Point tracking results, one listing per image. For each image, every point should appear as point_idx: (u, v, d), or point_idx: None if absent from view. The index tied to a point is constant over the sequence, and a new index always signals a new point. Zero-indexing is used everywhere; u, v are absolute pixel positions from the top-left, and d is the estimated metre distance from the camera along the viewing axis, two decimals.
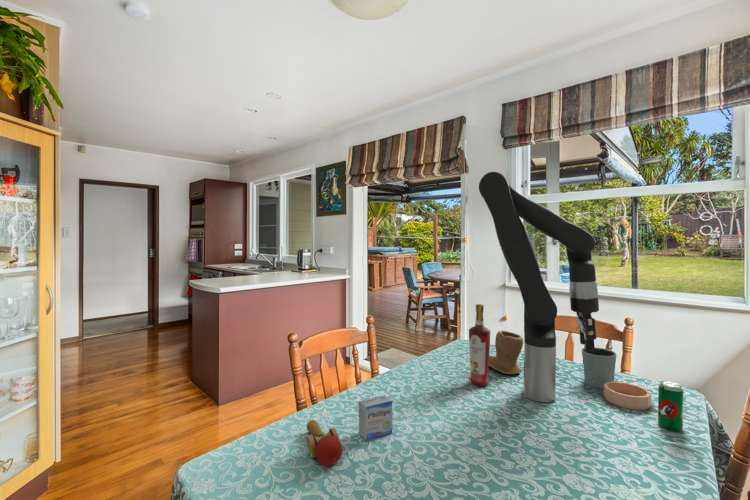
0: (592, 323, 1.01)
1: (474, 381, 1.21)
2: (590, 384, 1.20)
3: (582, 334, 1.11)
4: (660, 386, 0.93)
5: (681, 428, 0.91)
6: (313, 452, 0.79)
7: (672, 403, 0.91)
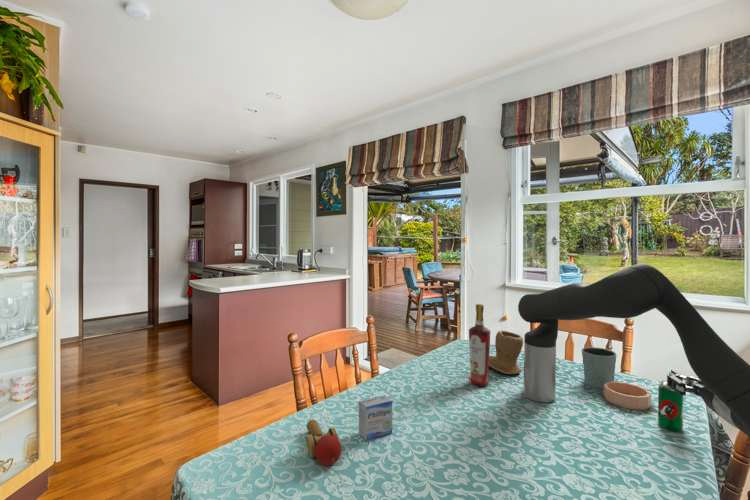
0: (676, 389, 0.75)
1: (474, 381, 1.21)
2: (590, 384, 1.20)
3: None
4: (660, 386, 0.93)
5: (681, 428, 0.91)
6: (312, 451, 0.79)
7: (672, 403, 0.91)
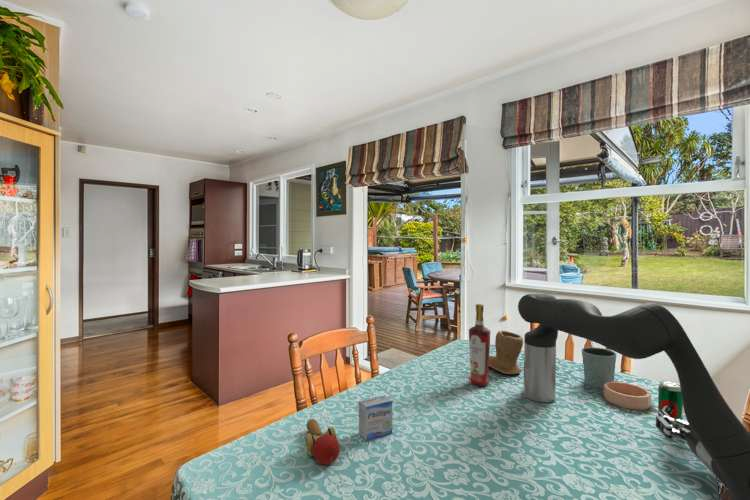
0: (664, 432, 0.80)
1: (474, 381, 1.21)
2: (590, 384, 1.20)
3: None
4: (660, 386, 0.93)
5: None
6: (311, 451, 0.80)
7: (672, 403, 0.91)
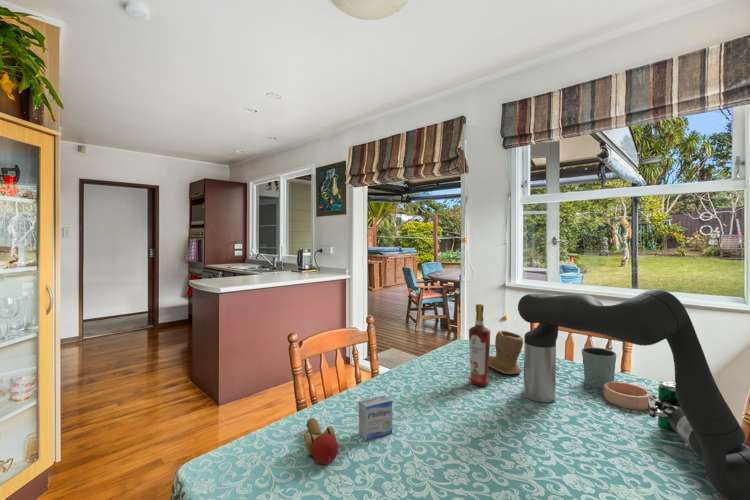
0: (649, 412, 0.89)
1: (474, 381, 1.21)
2: (590, 384, 1.20)
3: None
4: (660, 386, 0.93)
5: None
6: (309, 450, 0.80)
7: (672, 403, 0.91)
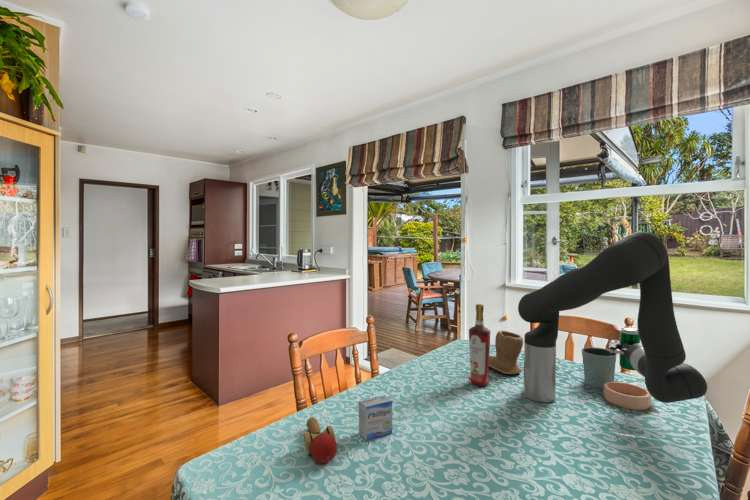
0: (610, 351, 1.03)
1: (474, 381, 1.21)
2: (590, 384, 1.20)
3: None
4: (621, 331, 1.07)
5: None
6: (309, 449, 0.80)
7: None
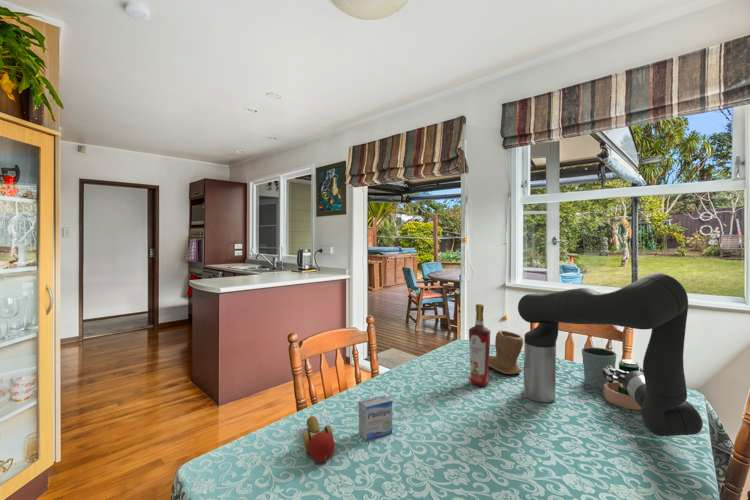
0: (607, 378, 1.04)
1: (474, 381, 1.21)
2: (590, 384, 1.20)
3: None
4: (620, 363, 1.08)
5: None
6: (307, 447, 0.81)
7: None
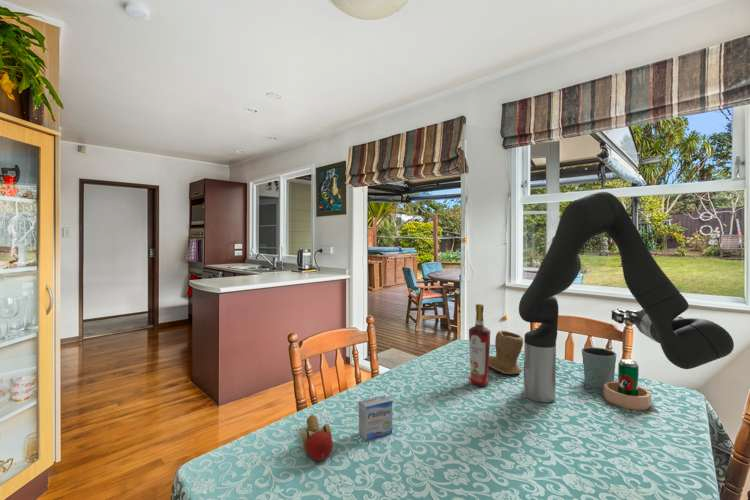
0: (617, 319, 0.92)
1: (474, 381, 1.21)
2: (590, 384, 1.20)
3: None
4: (619, 363, 1.08)
5: None
6: (305, 446, 0.81)
7: (628, 377, 1.06)
